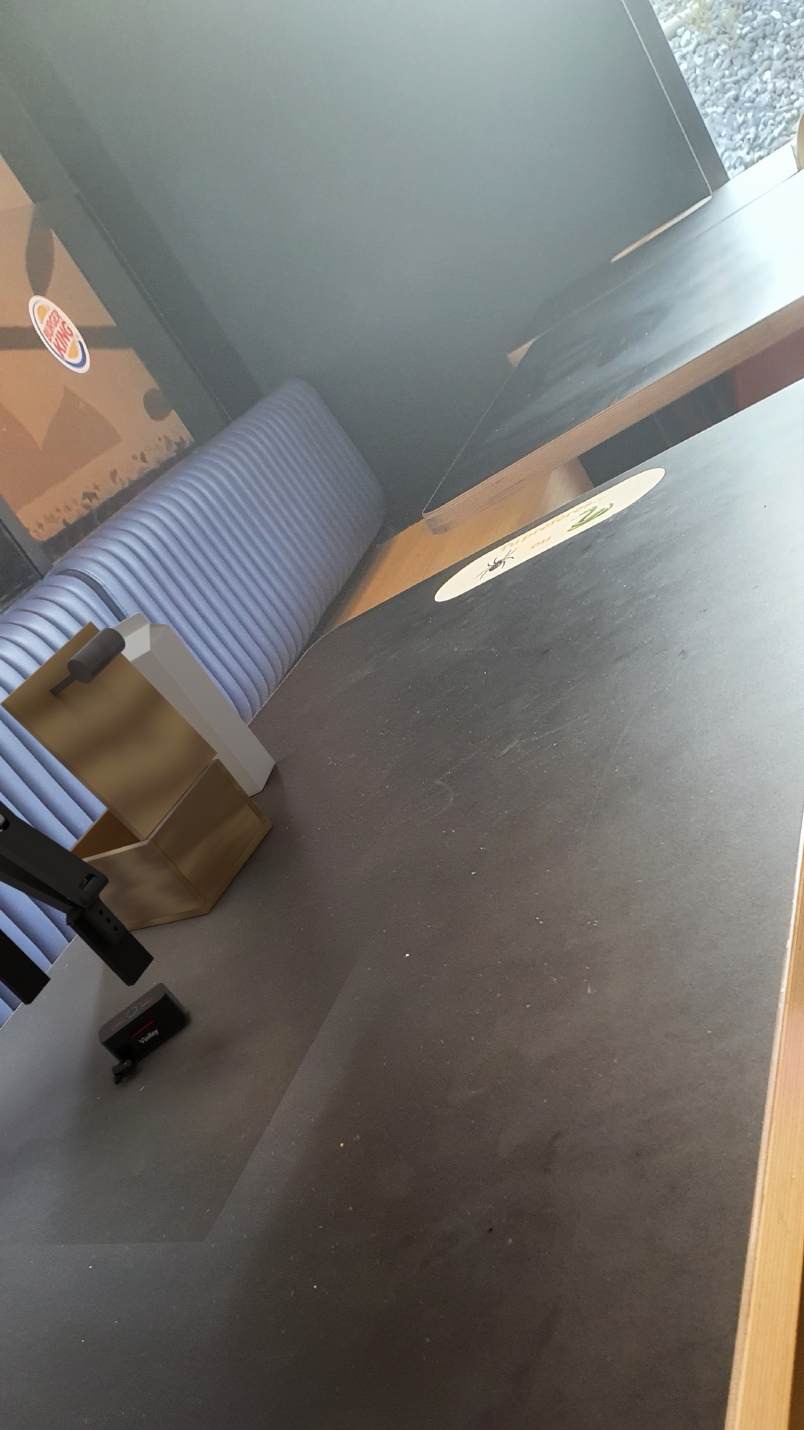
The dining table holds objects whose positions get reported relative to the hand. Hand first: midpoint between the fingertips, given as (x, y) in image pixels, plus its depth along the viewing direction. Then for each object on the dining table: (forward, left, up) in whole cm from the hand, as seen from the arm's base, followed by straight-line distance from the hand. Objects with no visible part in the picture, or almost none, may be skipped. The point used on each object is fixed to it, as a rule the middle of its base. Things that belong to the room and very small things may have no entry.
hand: (87, 983), depth 89 cm
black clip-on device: (0, 0, -8) cm, 8 cm away
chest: (-14, +23, -8) cm, 28 cm away
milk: (-17, +39, -8) cm, 43 cm away
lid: (-8, +23, +10) cm, 26 cm away
